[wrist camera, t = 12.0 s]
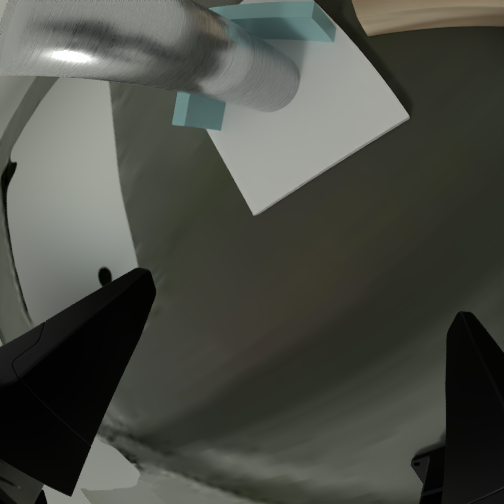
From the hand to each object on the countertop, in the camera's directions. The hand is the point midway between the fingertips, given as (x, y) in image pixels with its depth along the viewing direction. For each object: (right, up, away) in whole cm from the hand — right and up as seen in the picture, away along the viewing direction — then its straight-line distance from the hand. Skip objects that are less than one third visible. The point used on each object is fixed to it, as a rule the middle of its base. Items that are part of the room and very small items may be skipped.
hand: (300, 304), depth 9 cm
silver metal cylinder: (0, +12, +9) cm, 15 cm away
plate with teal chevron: (0, +12, +9) cm, 15 cm away
